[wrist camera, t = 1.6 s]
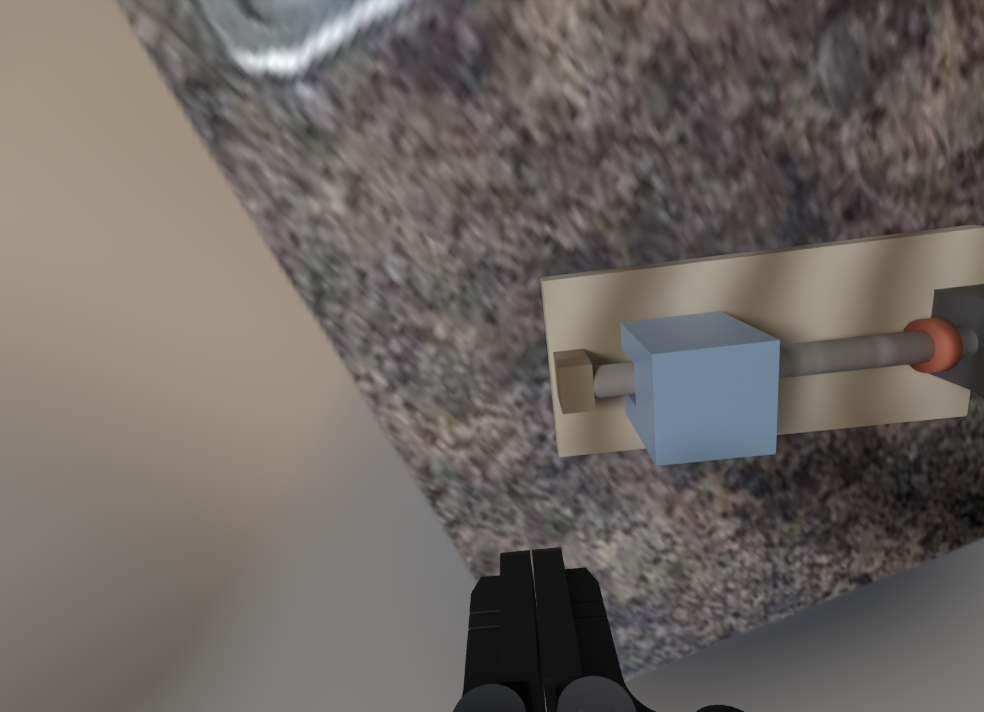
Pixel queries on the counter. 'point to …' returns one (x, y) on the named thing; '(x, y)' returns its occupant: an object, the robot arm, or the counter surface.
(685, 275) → the rail board
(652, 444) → the blue sleeve
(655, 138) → the counter surface
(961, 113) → the counter surface
